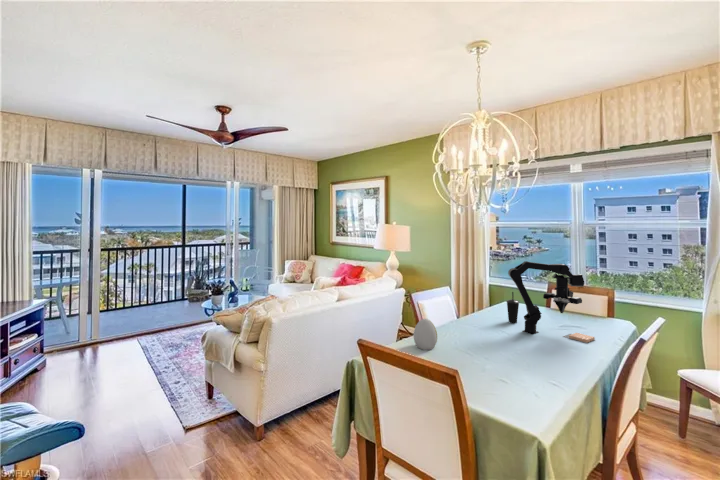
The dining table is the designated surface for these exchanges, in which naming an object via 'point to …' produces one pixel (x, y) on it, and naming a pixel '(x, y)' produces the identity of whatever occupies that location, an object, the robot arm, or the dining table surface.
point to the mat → (576, 340)
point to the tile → (581, 337)
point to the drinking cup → (512, 310)
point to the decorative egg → (425, 335)
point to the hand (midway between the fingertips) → (561, 313)
